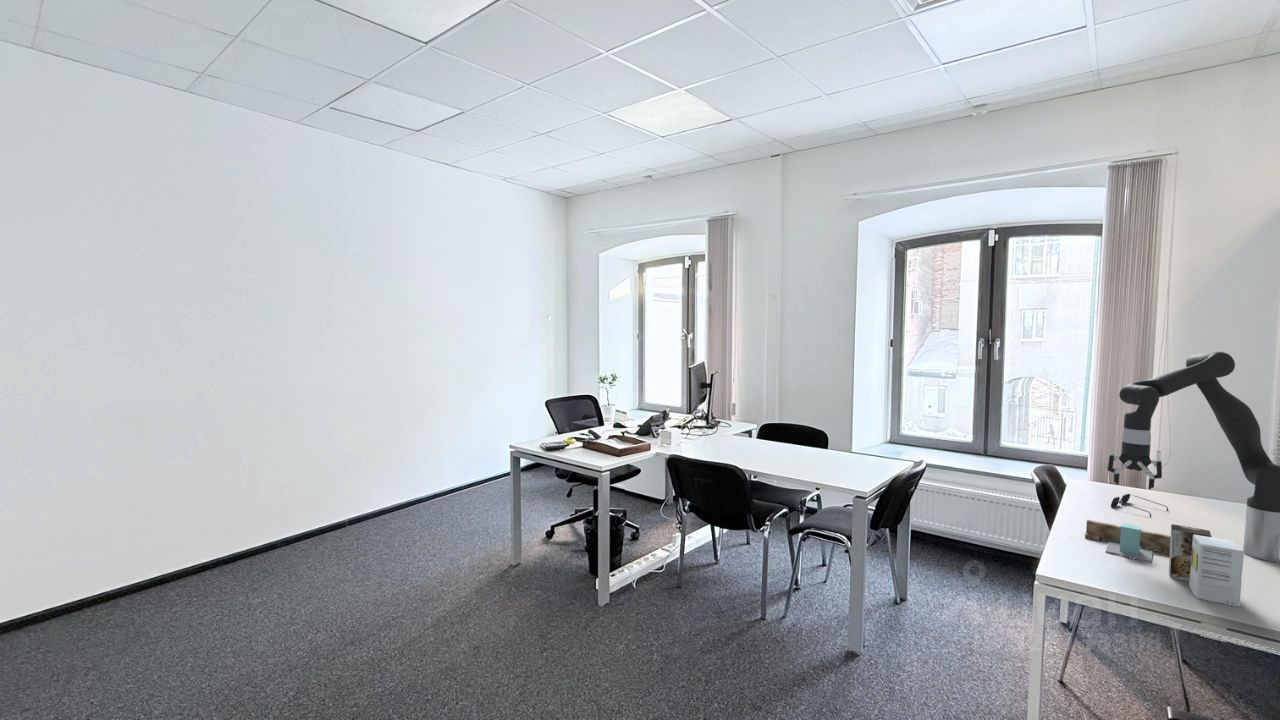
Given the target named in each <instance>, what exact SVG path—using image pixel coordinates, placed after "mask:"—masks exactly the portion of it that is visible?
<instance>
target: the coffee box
mask: <svg viewBox="0 0 1280 720" xmlns="http://www.w3.org/2000/svg"><path fill="white" fill-rule="evenodd" d="M1193 535H1200V536H1206V537H1212V534H1211V531H1210V530H1208V529H1203V528H1198V527H1197V528H1196V527H1191V526H1185V525H1179V524H1172V523H1171V526H1170V536H1171V539H1170V556H1169V558H1168V559H1169V560H1168V562H1169V563H1168V577H1169V576H1170V577H1172V578H1171V579H1175V578H1176V579H1177V580H1181V581H1184V582H1190V569H1191V556H1192V542H1193ZM1212 538H1213V537H1212ZM1170 577H1169V578H1170ZM1176 579H1175V580H1176Z"/></svg>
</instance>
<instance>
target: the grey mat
mask: <svg viewBox="0 0 1280 720" xmlns="http://www.w3.org/2000/svg"><path fill="white" fill-rule="evenodd" d="M1153 551H1154V550H1149V549H1145V548H1140V549H1139V555H1136V554H1131V553H1127V552H1122V551H1120V543H1117V542H1112V541H1108V543H1107V546H1106V549H1105V553H1106V552H1107V553H1106V554H1110V553H1112V554H1111V555H1114V554H1117V555H1116V556H1119V555H1122V556H1121V557H1123V556H1126V557H1125V558H1128V557H1131V558H1130V559H1132V558H1135V559H1134V560H1137V559H1138V560H1137V561H1141V560H1142V562H1145V561H1147V562H1146V563H1150V562H1151V563H1152V560H1153V554H1152V553H1153Z"/></svg>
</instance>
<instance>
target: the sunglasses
mask: <svg viewBox="0 0 1280 720" xmlns="http://www.w3.org/2000/svg"><path fill="white" fill-rule="evenodd" d="M1131 496H1132V497H1135V498H1139V499H1142V500H1145V501H1147V502H1151V503H1154V504H1157V505H1159V506H1162V507H1166V512H1167V511H1169V508H1168V506H1167V505H1164V504H1162V503H1158V502H1155V501H1153V500H1149V499H1146V498H1143V497H1140V496H1136V495H1132V494H1131V493H1125V494H1123V495H1122V497H1120V496H1116V497H1113V499H1112V501H1111V504H1110V508H1113V507H1117V506H1118V505H1119V504H1121V505H1124V506H1125V505H1126V506H1128V507H1132V508H1134V509H1137V510H1141V511H1144V512H1146V513H1148V514H1149V518H1150V517H1152V514H1151V512H1150V511H1148V510H1145V509H1142V508H1140V507H1136V506H1134V505H1131V504H1127V503H1128V502H1129V500H1130V498H1131ZM1120 498H1121V499H1120Z"/></svg>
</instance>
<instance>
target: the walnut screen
mask: <svg viewBox="0 0 1280 720" xmlns="http://www.w3.org/2000/svg"><path fill="white" fill-rule="evenodd" d="M1085 528H1086V529H1085V535H1084V539H1087V538H1089V539H1088V540H1091V539H1093V540H1092V541H1096V540H1097V542H1099V540H1102V539H1104V541H1107V540H1108V542H1112V541H1114V542H1113V543H1117V542H1119V543H1118V544H1120V537H1121V525H1117V524H1112V523H1106V522H1101V521H1096V520H1092V519H1086V527H1085ZM1170 539H1171V535H1169V534H1165V533H1164V534H1163V533H1157V532H1152V531H1148V530H1144V529H1143V530H1142V529H1141V533H1140V547H1143V548H1142V549H1145V548H1148V549H1147V550H1149V549H1152V550H1151V551H1154V550H1157V551H1156V552H1159V551H1160V552H1159V553H1163V554H1164V556H1167V557H1170Z"/></svg>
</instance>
